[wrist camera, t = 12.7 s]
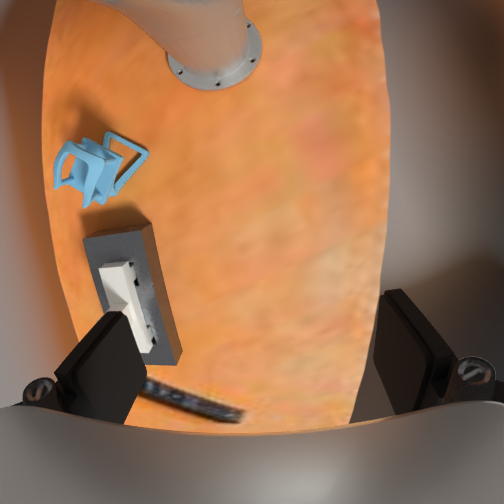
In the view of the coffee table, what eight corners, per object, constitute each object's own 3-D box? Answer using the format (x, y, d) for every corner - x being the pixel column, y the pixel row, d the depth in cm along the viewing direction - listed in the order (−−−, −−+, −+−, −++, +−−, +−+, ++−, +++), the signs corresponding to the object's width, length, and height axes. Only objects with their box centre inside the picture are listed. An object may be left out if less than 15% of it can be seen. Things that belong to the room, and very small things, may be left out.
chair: (89, 181, 39) (38, 194, 28) (109, 130, 36) (59, 128, 25) (127, 203, 40) (81, 224, 28) (151, 151, 37) (107, 154, 26)
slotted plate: (96, 231, 41) (82, 238, 37) (151, 223, 40) (140, 230, 37) (131, 350, 48) (123, 363, 44) (182, 350, 47) (176, 365, 43)
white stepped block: (115, 255, 42) (79, 283, 32) (138, 253, 41) (104, 281, 32) (138, 333, 46) (113, 372, 36) (159, 333, 46) (137, 374, 36)
